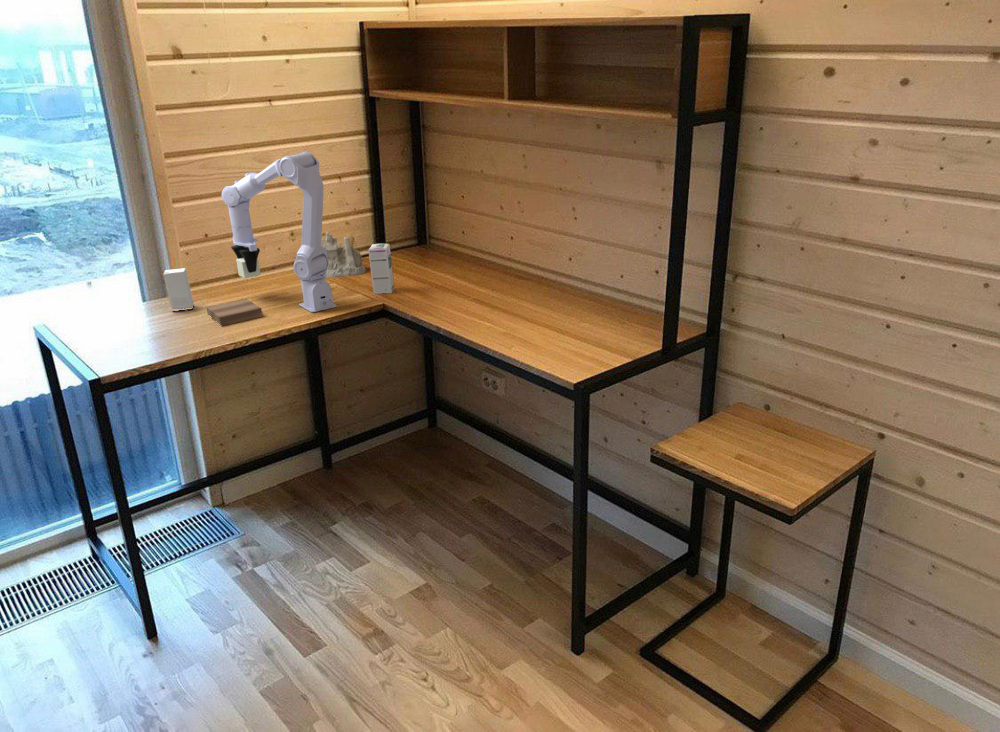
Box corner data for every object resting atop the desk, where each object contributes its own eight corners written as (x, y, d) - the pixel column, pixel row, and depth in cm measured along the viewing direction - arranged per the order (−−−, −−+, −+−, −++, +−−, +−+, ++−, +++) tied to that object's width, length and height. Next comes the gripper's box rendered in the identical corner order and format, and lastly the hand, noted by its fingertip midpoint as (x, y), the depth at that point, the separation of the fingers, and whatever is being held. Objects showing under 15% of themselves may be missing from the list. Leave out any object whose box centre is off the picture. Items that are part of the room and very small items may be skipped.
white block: (260, 275, 242) (258, 259, 240) (244, 278, 239) (241, 262, 237) (254, 271, 246) (251, 256, 244) (238, 275, 243) (236, 259, 241)
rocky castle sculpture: (364, 275, 265) (358, 230, 260) (315, 279, 264) (307, 234, 259) (369, 265, 279) (363, 222, 274) (322, 269, 279) (315, 226, 274)
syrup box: (392, 293, 245) (387, 247, 239) (372, 294, 245) (368, 248, 240) (394, 288, 250) (390, 242, 245) (375, 288, 251) (371, 243, 245)
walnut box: (262, 318, 230) (261, 308, 229) (221, 327, 224) (219, 317, 222) (248, 308, 239) (246, 298, 238) (208, 317, 233) (206, 307, 232)
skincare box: (194, 305, 241) (186, 267, 237) (193, 310, 237) (185, 271, 233) (173, 308, 240) (164, 269, 235) (171, 312, 236) (162, 273, 231)
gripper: (263, 227, 233) (270, 272, 239) (245, 219, 244) (252, 262, 249) (240, 231, 230) (248, 276, 235) (223, 223, 240) (230, 267, 246)
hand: (248, 270), depth 242 cm, fingers closed on white block, 5 cm apart
